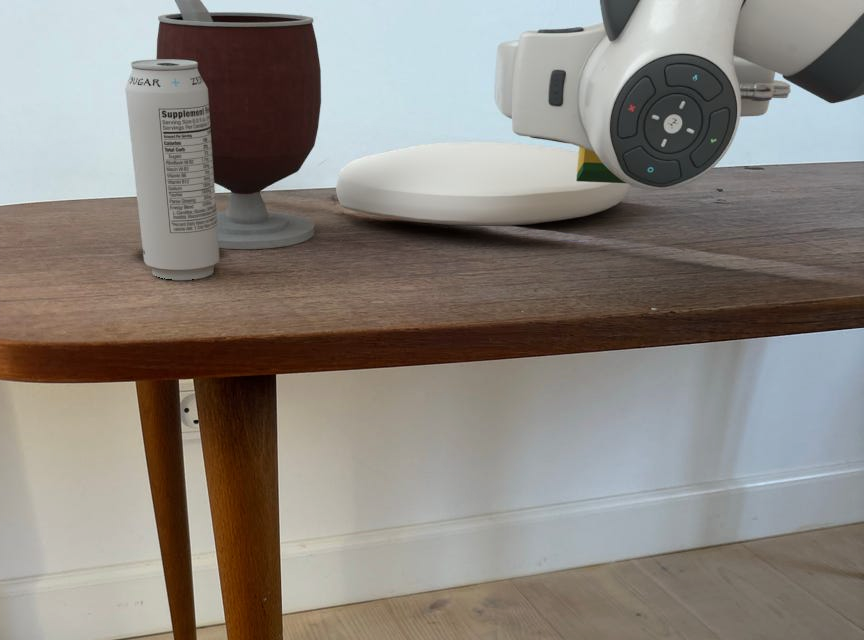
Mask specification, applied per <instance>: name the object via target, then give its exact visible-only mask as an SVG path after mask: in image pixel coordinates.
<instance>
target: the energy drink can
mask: <svg viewBox="0 0 864 640" xmlns="http://www.w3.org/2000/svg"><path fill="white" fill-rule="evenodd" d="M130 66H131V72H130V75H129V78H128V80H127V83H126V86H125V88H124V89H125V98H126V99H125V100H126V107H127V108H126V109H127V117H128V125H129V136H130V146H131V153H132V155H131V156H132V162H133V172H134V181H135V192H136V200H137V207H138V208H137V209H138V218H139V227H140V236H141V245H142V247H141V248H142V257H143V262H144V264H145V265H146V266H148V267H149V268H150V269H151V274H152V275H153V276H154V275H155V276H154V277H156V276H157V277H156V278H158V277H160V278H159V279H161V278H163V279H162V280H166V279H172V280H171V281H192V279H194V280H199V279H200V280H201V279H204V278H207V277H210V276H211V275H213V274H214V272H215V271H214V270H215V269H214V267H215V266H216V265H217V264H218V263H219V262H220V258H221V257H220V248H219V243H218V229H217V214H216V212H217V203H216V202H217V201H216V188H215V187H216V186H215V183H214V171H213V157H212V143H211V128H210V114H209V100H208V88H207V86H206V84H205V83H204V81H203V79H202V77H201V75H200V74H199V72H198V69H197V66H198V63H197V62H195V61H189V60H174V59H140V60H134V61H131V62H130ZM164 278H165V279H164Z"/></svg>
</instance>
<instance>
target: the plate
mask: <svg viewBox="0 0 864 640" xmlns="http://www.w3.org/2000/svg"><path fill="white" fill-rule="evenodd" d="M578 157H579V151H575V150H574V151H573V150H569V149H566V148H560V147H552V146H544V145H536V144H528V143H520V142H519V143H516V142H500V141H499V142H497V141H471V142H469V141H468V142H464V141H463V142H460V141H459V142H438V143H428V144H420V145H413V146H409V147H408V146H407V147H404V148H403V147H402V148H399V149H394V150H389V151H384V152H379V153H373V154H370V155H366V156H362V157H359V158H357V159H354V160H352V161H349V162H348V163H347V164H346V165H345V166H343V167H342V168H341V169H340V170H339V174H338V178H337V181H336V185H335V192H336V197H337V200H338V202H339V205H340V206H341V207H342V208H344V209H346V210H349V211H353V212H356V213H361V214H364V215H370V216H375V217H379V218H387V219H394V220H402V221H410V222H417V223H425V224H426V223H427V224H435V225H436V224H437V225H449V226H463V227H465V226H466V227H468V226H469V227H471V226H472V227H513V226H526V225H527V226H528V225H536V224H537V225H538V224H543V223H550V222H557V221H562V220H565V221H566V220H571V219H577V218H582V217H587V216H590V215H594V214H597V213H600V212H604V211H606V210H608V209H610V208H612V207H614V206H616V205H618V204H620V202H621V201H622V200H623V199H625V197H626V196H627V195H628V192H629V190H630V187H631V185H630V184H628V183H606V182H580V181H576V179H577V168H578Z"/></svg>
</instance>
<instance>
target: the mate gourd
mask: <svg viewBox="0 0 864 640" xmlns="http://www.w3.org/2000/svg"><path fill="white" fill-rule="evenodd" d="M174 2H175V4H176V6H177V9H178V11H179V13H178V12H177V13H169V14H167V13H166V14H161V15H158V17H157V19H158V21H159V23H158V29H157V30H158V31H157V38H156V59H174V60H189V61H195V62H197V63H198V66H197V69H198V72H199V74H200V75H201V77H202V79H203V81H204V83H205V84H206V86H207V88H208V100H209V114H210V128H211V143H212V157H213V171H214V184H216V185H218V186H220V187H222V188H224V189H226V190H227V191H229V192H230V198H229V200H228V204H227V206H226V210H225V211H224V210H223V211H216V214H217V229H218V243H219V249H227V250H263V249H264V250H265V249H275V248H281V247H282V248H283V247H287V246H292V245H298V244H301V243H304V242H306V241H309V240H310V239H311V238H313V237H314V235H315V222H313V221H312V220H311V219H309V218H307V217H304V216H301V215H298V214H294V213H290V212H289V213H288V212H282V211H273V210H268V209H267V207H266V204H265V202H264V199H263V197H262V194H261V191H263V190H264V189H266V188H268V187H270V186H272V185H273V184H277V183H278V182H280V181H282V180H284V179H286V178H288V177H290V176H292V175H294V174H295V173H298V172H299V171H300V169H301V168H302V166H303V165H304V163H305V162H306V160H307V158H308V157H309V155H310V154H311V152H312V151H313V149H314V147H315V145H316V140H317V136H318V131H319V123H320V115H321V107H322V69H321V62H320V57H319V56H320V55H319V49H318V41H317V37H316V33H315V28H314V24H313V23H314V18H313V17H312V16H306V15H300V14H289V13H273V12H242V11H241V12H238V11H237V12H235V11H211V12H210V11H209V9H208V8H207V7H206V6H205V5H204V3H203V2H202V0H174Z"/></svg>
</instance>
